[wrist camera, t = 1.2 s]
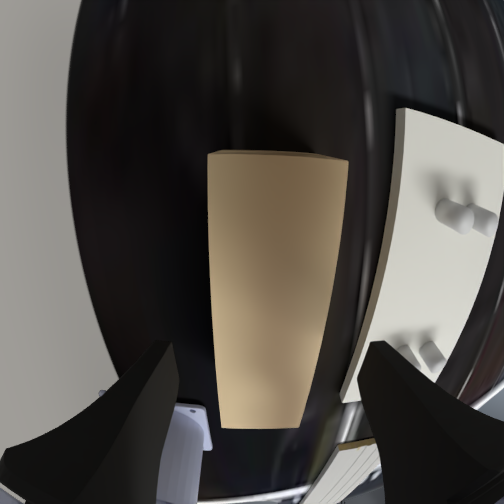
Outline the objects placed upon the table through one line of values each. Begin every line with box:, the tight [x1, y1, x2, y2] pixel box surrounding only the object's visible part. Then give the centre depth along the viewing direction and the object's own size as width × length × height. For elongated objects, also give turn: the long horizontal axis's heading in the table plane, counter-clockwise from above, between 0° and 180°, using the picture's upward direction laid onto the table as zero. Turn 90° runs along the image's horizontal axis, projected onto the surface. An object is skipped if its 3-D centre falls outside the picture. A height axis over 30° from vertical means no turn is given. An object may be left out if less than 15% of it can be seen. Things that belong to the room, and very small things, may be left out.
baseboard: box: [299, 438, 380, 504], centre depth 28 cm, size 30×3×10 cm
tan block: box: [208, 150, 348, 429], centre depth 13 cm, size 4×14×5 cm, turn 178°
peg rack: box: [339, 108, 504, 403], centre depth 14 cm, size 9×20×3 cm, turn 178°
